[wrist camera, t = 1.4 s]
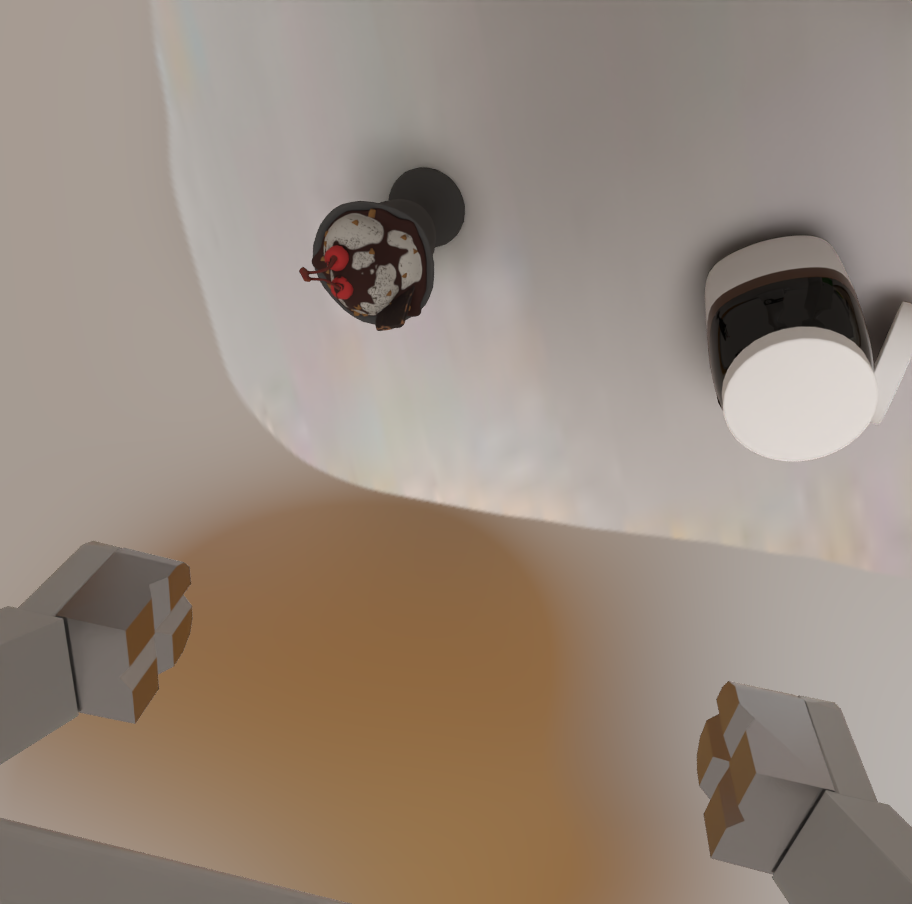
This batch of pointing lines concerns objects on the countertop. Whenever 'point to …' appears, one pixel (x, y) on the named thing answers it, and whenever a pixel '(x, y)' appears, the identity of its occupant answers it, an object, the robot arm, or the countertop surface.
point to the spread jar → (797, 350)
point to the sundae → (387, 248)
